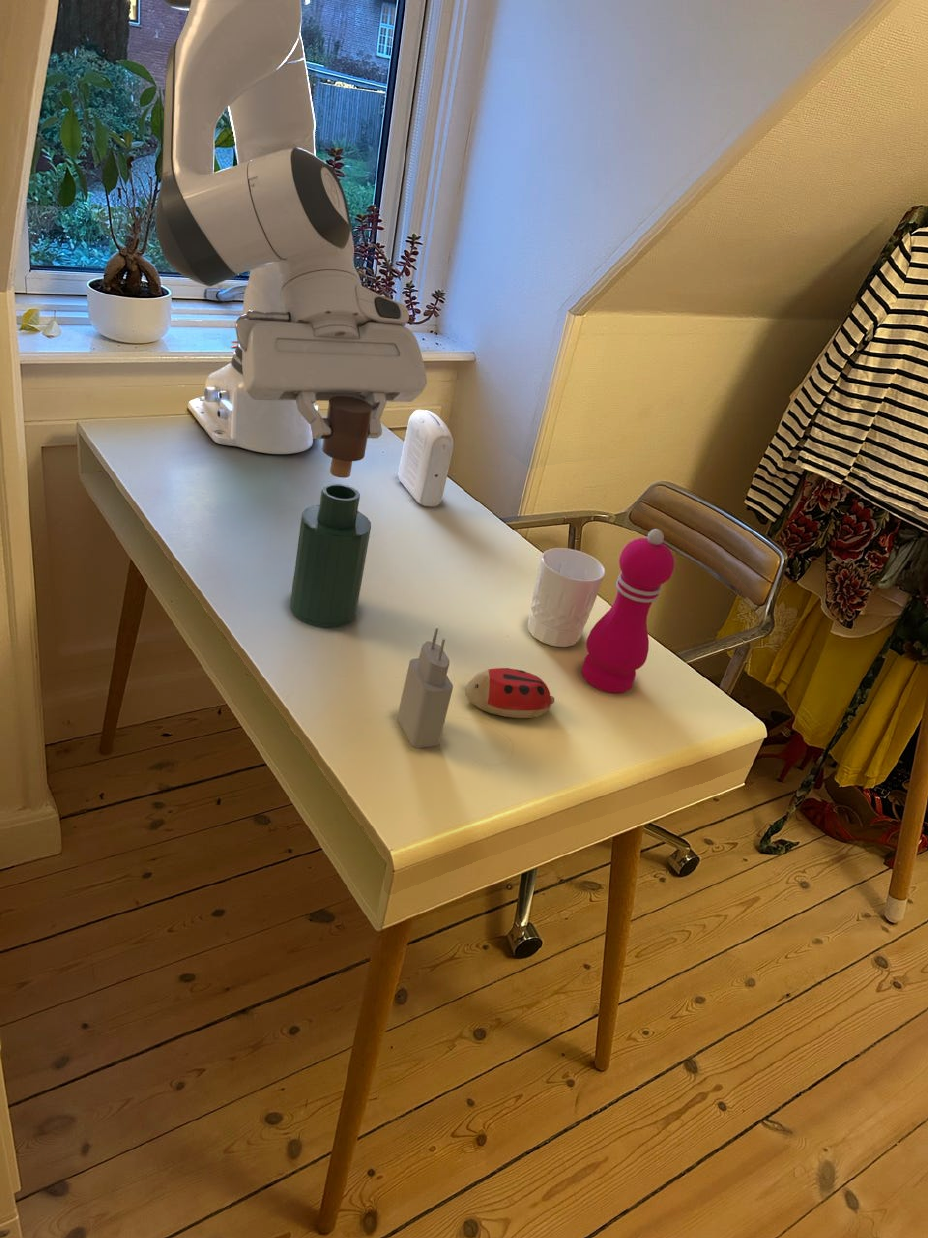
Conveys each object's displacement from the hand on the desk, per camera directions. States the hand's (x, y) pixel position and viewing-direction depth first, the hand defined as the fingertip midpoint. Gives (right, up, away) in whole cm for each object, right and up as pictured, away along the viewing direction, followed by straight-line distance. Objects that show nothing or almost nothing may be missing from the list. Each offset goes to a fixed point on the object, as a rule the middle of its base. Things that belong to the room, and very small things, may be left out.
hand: (348, 436), depth 103 cm
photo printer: (+5, 0, +46) cm, 46 cm away
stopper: (-1, -3, +3) cm, 5 cm away
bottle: (-4, -18, +12) cm, 22 cm away
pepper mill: (+29, -27, +12) cm, 41 cm away
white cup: (+23, -21, +19) cm, 37 cm away
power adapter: (+8, -31, -3) cm, 32 cm away
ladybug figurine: (+17, -29, +4) cm, 34 cm away
